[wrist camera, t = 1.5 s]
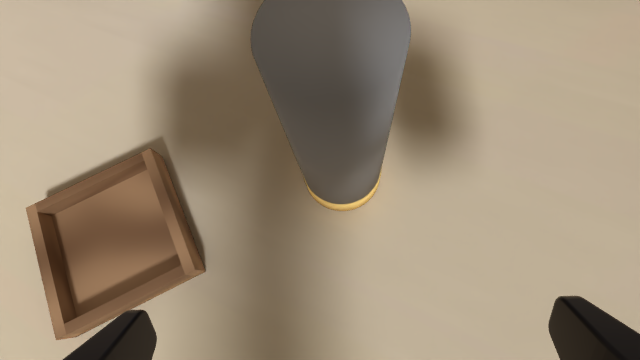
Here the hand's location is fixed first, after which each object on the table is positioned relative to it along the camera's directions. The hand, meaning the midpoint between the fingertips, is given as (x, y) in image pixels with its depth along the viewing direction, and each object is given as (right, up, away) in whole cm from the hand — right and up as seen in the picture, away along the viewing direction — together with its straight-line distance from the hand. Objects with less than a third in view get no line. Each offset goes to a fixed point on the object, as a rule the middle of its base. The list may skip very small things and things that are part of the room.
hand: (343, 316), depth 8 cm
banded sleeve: (+1, +3, +15) cm, 15 cm away
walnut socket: (-13, -1, +14) cm, 19 cm away
